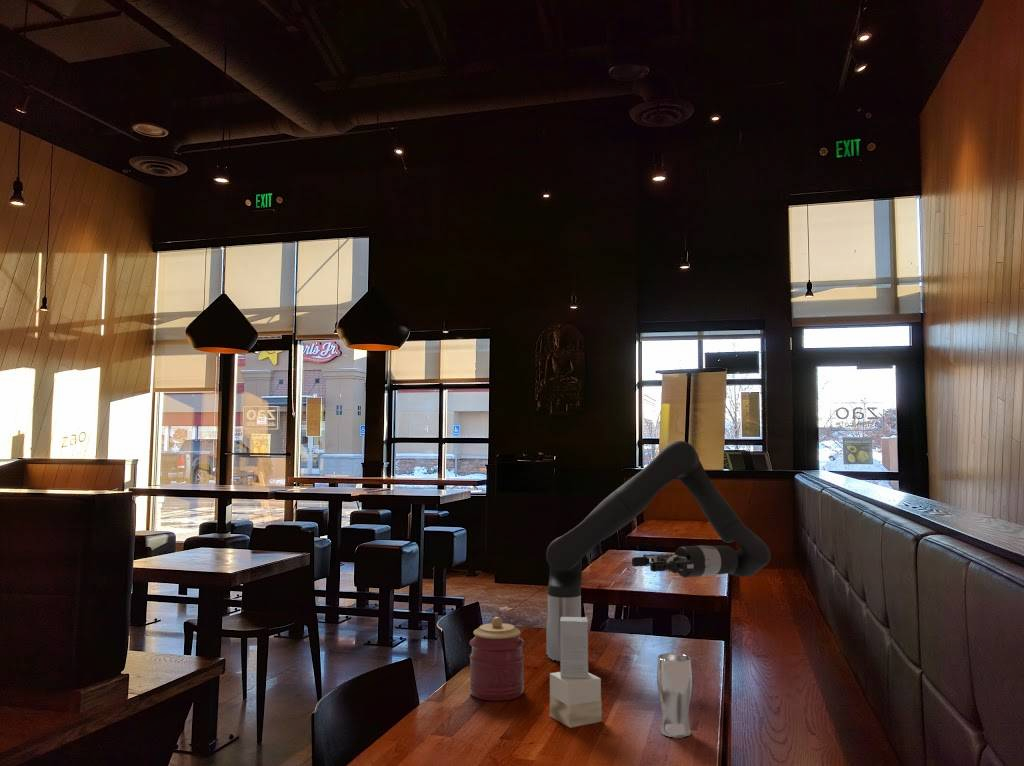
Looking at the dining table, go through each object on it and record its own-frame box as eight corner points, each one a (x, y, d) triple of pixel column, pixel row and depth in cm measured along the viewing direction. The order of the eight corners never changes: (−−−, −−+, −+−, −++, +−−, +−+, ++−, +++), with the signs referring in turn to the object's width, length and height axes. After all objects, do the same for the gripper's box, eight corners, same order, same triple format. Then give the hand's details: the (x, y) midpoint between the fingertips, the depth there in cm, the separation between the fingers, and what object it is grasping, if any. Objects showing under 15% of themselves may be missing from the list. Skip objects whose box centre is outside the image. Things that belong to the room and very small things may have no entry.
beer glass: (694, 729, 155) (693, 654, 156) (691, 741, 148) (689, 663, 150) (660, 725, 157) (659, 651, 159) (655, 737, 151) (654, 660, 152)
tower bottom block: (549, 716, 163) (549, 694, 163) (580, 710, 167) (580, 689, 167) (570, 728, 156) (570, 705, 156) (601, 721, 160) (601, 699, 160)
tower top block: (549, 694, 163) (549, 673, 164) (581, 689, 167) (581, 668, 167) (568, 705, 156) (568, 683, 157) (600, 700, 160) (600, 678, 160)
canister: (457, 693, 178) (458, 617, 179) (496, 681, 187) (496, 609, 189) (497, 706, 169) (497, 625, 171) (535, 692, 178) (535, 616, 180)
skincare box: (587, 672, 164) (588, 616, 165) (588, 679, 160) (588, 621, 160) (559, 671, 164) (560, 616, 165) (559, 678, 160) (560, 620, 161)
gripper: (681, 542, 195) (626, 545, 189) (715, 549, 182) (657, 552, 176) (681, 572, 194) (626, 575, 188) (715, 580, 181) (658, 584, 175)
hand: (641, 564), depth 182 cm, fingers open, 8 cm apart
